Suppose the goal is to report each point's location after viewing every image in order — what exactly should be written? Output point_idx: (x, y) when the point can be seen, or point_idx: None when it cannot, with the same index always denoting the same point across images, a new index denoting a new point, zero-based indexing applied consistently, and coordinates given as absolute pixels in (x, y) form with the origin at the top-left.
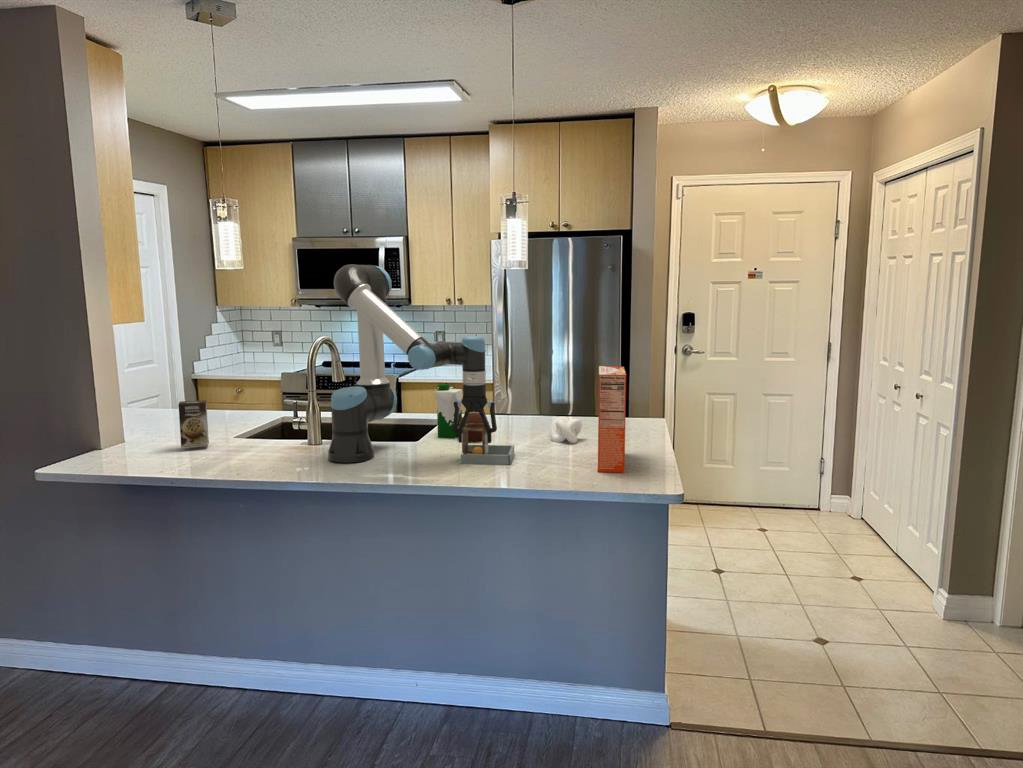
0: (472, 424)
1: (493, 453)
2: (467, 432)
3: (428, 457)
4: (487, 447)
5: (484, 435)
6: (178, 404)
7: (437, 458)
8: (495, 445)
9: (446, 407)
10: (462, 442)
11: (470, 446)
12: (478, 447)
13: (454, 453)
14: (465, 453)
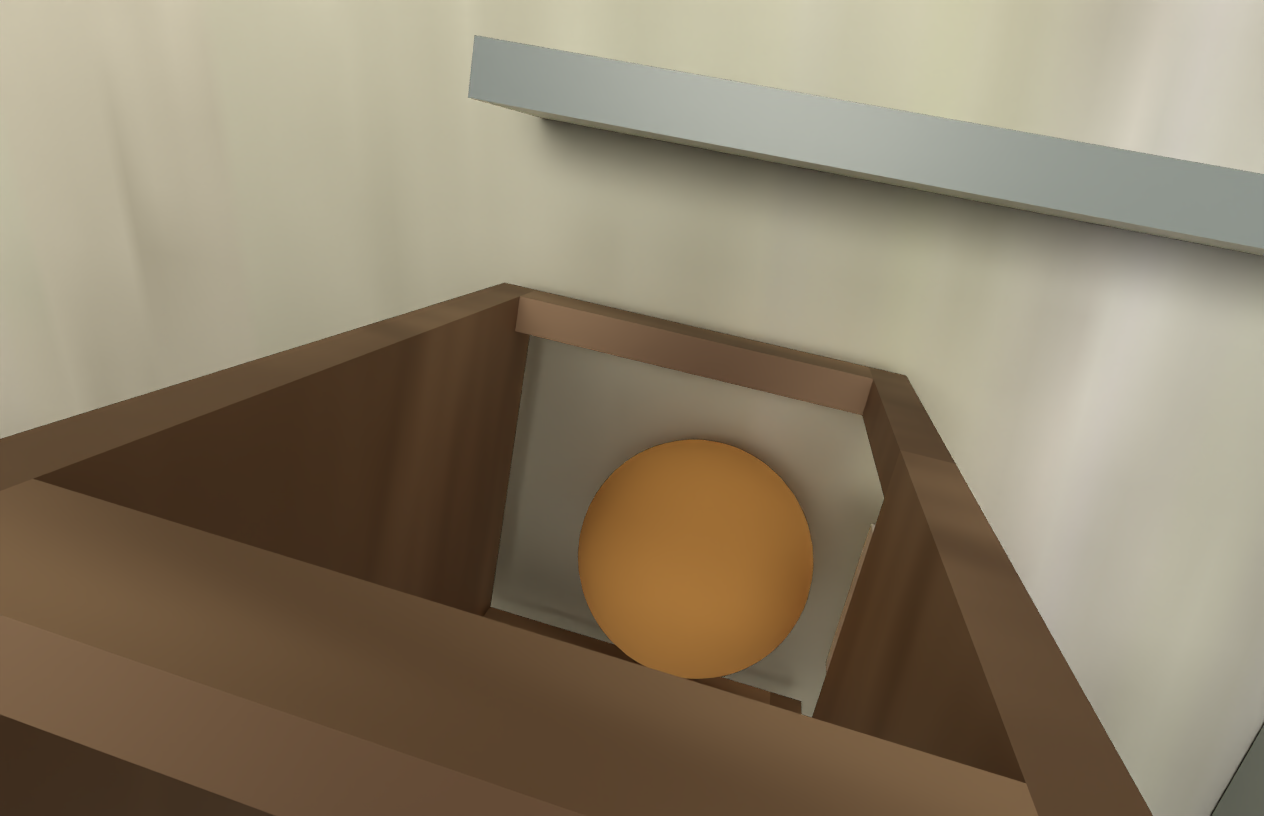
0: (161, 724)
1: (1069, 217)
2: (245, 511)
3: (3, 293)
4: None
5: None
6: None
7: (127, 373)
8: (1214, 225)
9: None
10: None
11: (550, 114)
12: (690, 644)
13: (314, 61)
14: (471, 601)
